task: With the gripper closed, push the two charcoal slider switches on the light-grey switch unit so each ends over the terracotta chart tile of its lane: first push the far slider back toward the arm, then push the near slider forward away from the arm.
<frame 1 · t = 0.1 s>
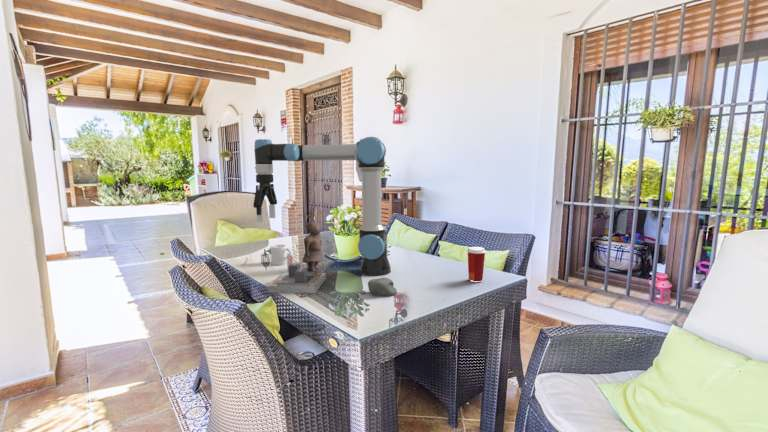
hand: (266, 220, 176), 28 cm above the table, fingers open, 13 cm apart
clay figurine: (313, 270, 194), on the table
switch unit: (298, 285, 168), on the table
mug: (282, 264, 206), on the table
slider near: (301, 275, 162), point 6 cm above the table, slide at 0.0 cm
beer glass: (475, 281, 173), on the table
stone: (382, 294, 156), on the table
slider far: (294, 269, 173), point 6 cm above the table, slide at 6.0 cm
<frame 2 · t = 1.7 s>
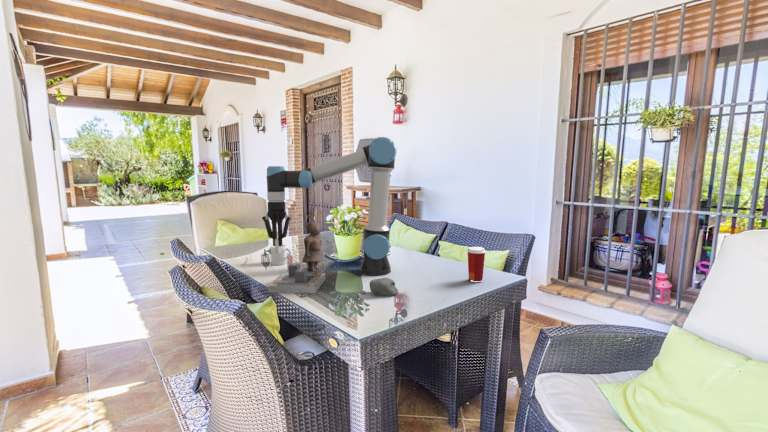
hand: (277, 253, 172), 13 cm above the table, fingers closed
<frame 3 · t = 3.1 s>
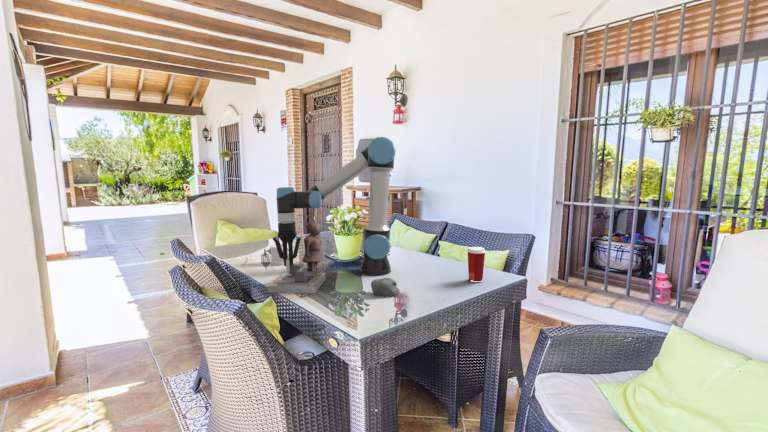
hand: (289, 273, 173), 4 cm above the table, fingers closed
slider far: (297, 269, 172), point 6 cm above the table, slide at 4.7 cm, touching gripper
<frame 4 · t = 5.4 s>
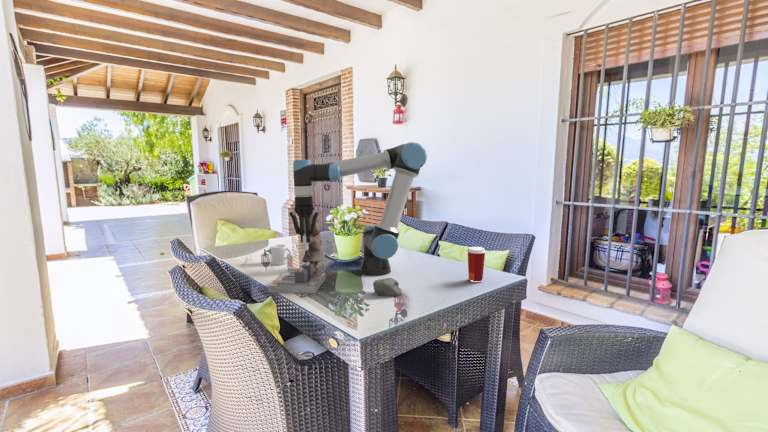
hand: (305, 249, 166), 16 cm above the table, fingers closed
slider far: (307, 269, 172), point 6 cm above the table, slide at 0.0 cm
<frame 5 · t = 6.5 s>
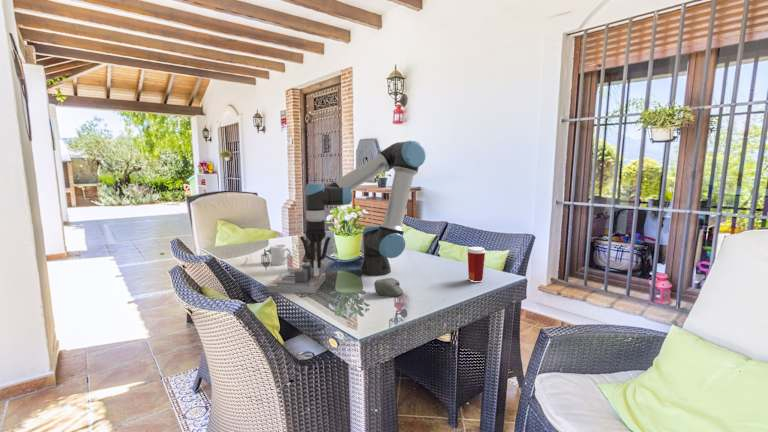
hand: (316, 275, 161), 6 cm above the table, fingers closed
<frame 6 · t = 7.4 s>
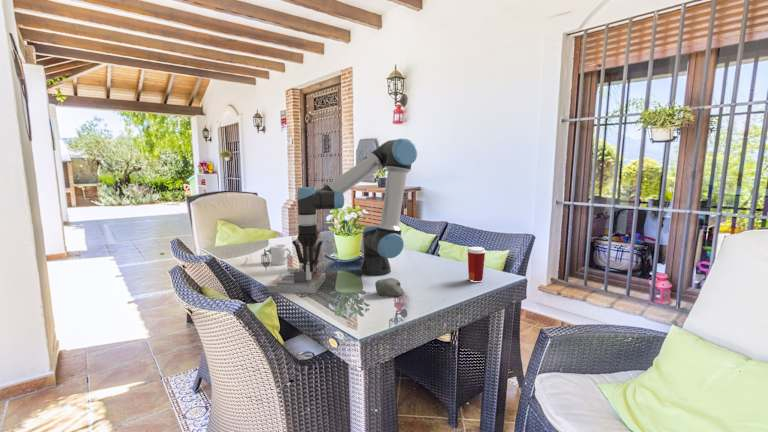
hand: (308, 279, 162), 5 cm above the table, fingers closed
slider near: (300, 275, 162), point 6 cm above the table, slide at 0.4 cm, touching gripper
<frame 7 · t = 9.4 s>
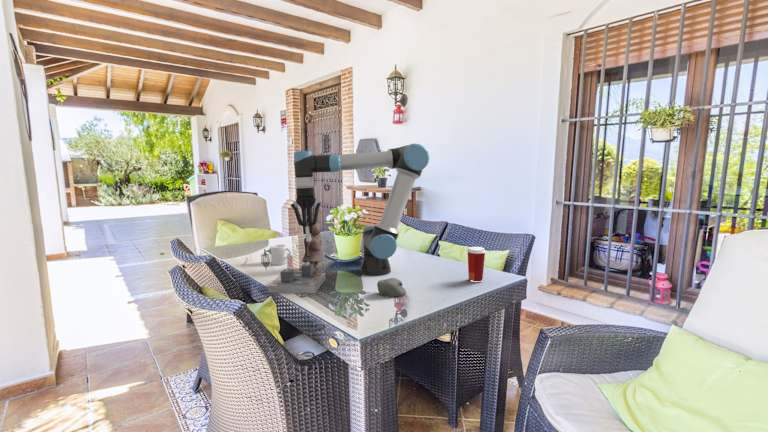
hand: (308, 240, 167), 20 cm above the table, fingers closed
slider near: (287, 275, 163), point 6 cm above the table, slide at 6.0 cm
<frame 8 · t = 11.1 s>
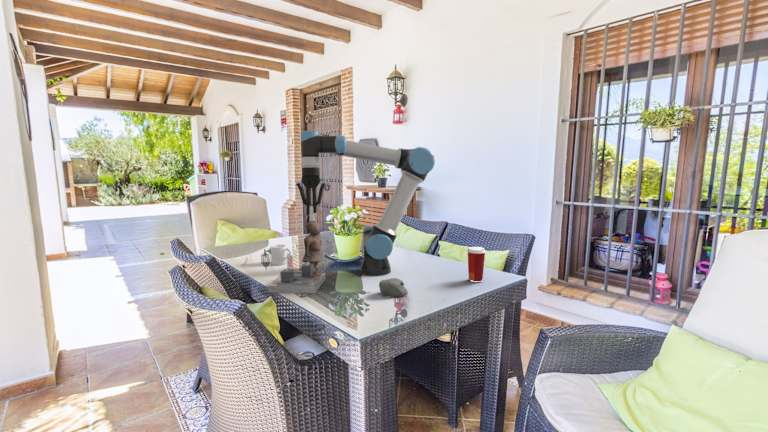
hand: (312, 220, 169), 28 cm above the table, fingers closed
at the end: slider near slide at 6.0 cm; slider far slide at 0.0 cm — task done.
